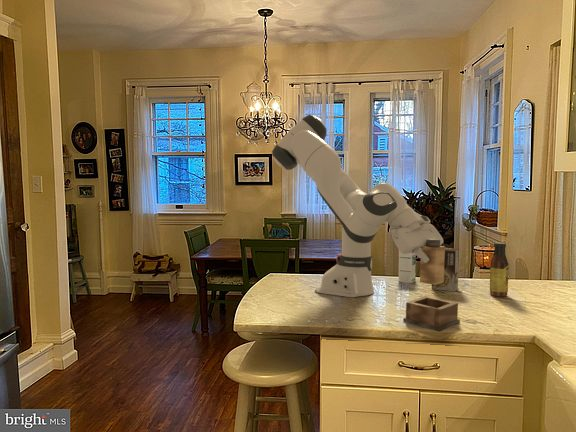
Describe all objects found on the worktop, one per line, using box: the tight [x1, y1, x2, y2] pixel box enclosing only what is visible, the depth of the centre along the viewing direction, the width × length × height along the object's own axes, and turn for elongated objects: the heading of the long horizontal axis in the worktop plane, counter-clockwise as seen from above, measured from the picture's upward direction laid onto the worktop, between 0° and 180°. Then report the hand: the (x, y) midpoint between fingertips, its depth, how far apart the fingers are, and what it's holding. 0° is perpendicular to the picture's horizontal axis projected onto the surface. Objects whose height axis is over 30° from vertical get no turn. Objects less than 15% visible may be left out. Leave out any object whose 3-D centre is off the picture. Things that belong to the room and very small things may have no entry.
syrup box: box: [398, 249, 417, 284], centre depth 189 cm, size 6×6×14 cm
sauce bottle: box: [489, 242, 510, 298], centre depth 167 cm, size 7×6×20 cm
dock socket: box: [403, 295, 461, 332], centre depth 136 cm, size 12×12×6 cm
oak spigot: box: [419, 239, 446, 285], centre depth 134 cm, size 5×5×13 cm
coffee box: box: [431, 247, 460, 292], centre depth 176 cm, size 9×6×16 cm
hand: (434, 260), depth 134 cm, fingers closed on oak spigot, 5 cm apart
